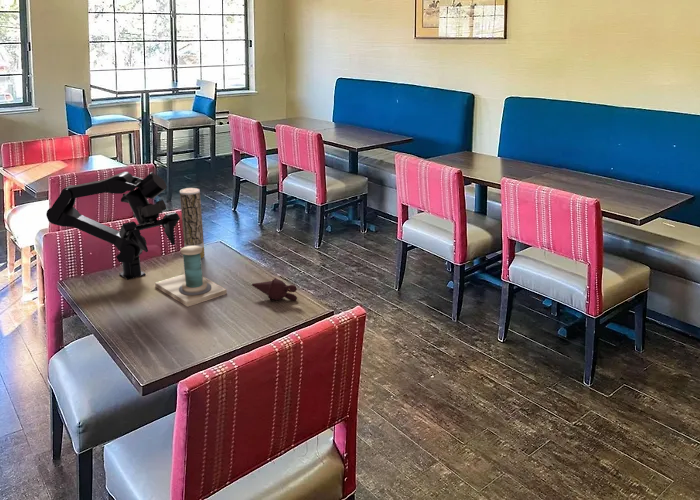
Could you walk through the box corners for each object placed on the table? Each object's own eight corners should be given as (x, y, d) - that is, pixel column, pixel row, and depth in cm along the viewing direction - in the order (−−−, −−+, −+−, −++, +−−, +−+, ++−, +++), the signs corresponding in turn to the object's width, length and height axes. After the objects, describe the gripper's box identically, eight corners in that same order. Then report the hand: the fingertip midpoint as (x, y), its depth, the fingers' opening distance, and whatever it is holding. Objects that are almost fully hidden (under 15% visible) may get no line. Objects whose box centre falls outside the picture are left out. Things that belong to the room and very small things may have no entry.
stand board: (155, 286, 209) (154, 281, 208) (193, 275, 218) (193, 270, 217) (187, 306, 196) (187, 301, 195) (226, 293, 205) (226, 288, 204)
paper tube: (200, 261, 230) (194, 193, 221) (182, 260, 231) (176, 192, 222) (207, 254, 236) (202, 188, 227) (190, 253, 237) (184, 187, 228)
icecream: (246, 282, 197) (292, 292, 194) (256, 268, 203) (301, 278, 200) (247, 300, 201) (293, 310, 198) (257, 285, 207) (301, 295, 204)
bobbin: (177, 287, 204) (174, 249, 200) (199, 280, 209) (195, 243, 204) (190, 294, 199) (186, 255, 194) (211, 288, 204) (208, 249, 199)
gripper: (118, 198, 195) (139, 242, 192) (174, 188, 207) (195, 228, 204) (110, 217, 204) (130, 259, 200) (164, 206, 216) (184, 245, 212)
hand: (160, 247), depth 204 cm, fingers open, 9 cm apart
